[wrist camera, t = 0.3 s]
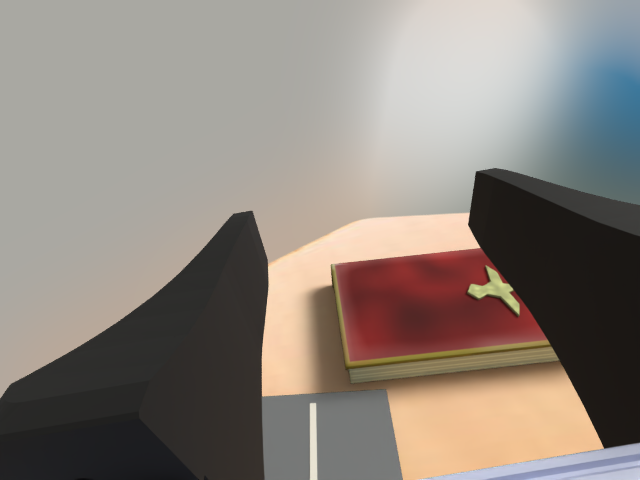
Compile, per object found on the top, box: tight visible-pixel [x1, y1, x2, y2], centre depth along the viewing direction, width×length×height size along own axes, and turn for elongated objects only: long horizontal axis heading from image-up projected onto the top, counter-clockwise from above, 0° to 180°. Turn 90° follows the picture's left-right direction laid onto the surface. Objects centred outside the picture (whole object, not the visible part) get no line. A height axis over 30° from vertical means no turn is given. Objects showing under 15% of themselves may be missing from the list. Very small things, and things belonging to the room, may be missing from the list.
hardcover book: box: [331, 248, 560, 384], centre depth 31 cm, size 12×21×4 cm, turn 94°
